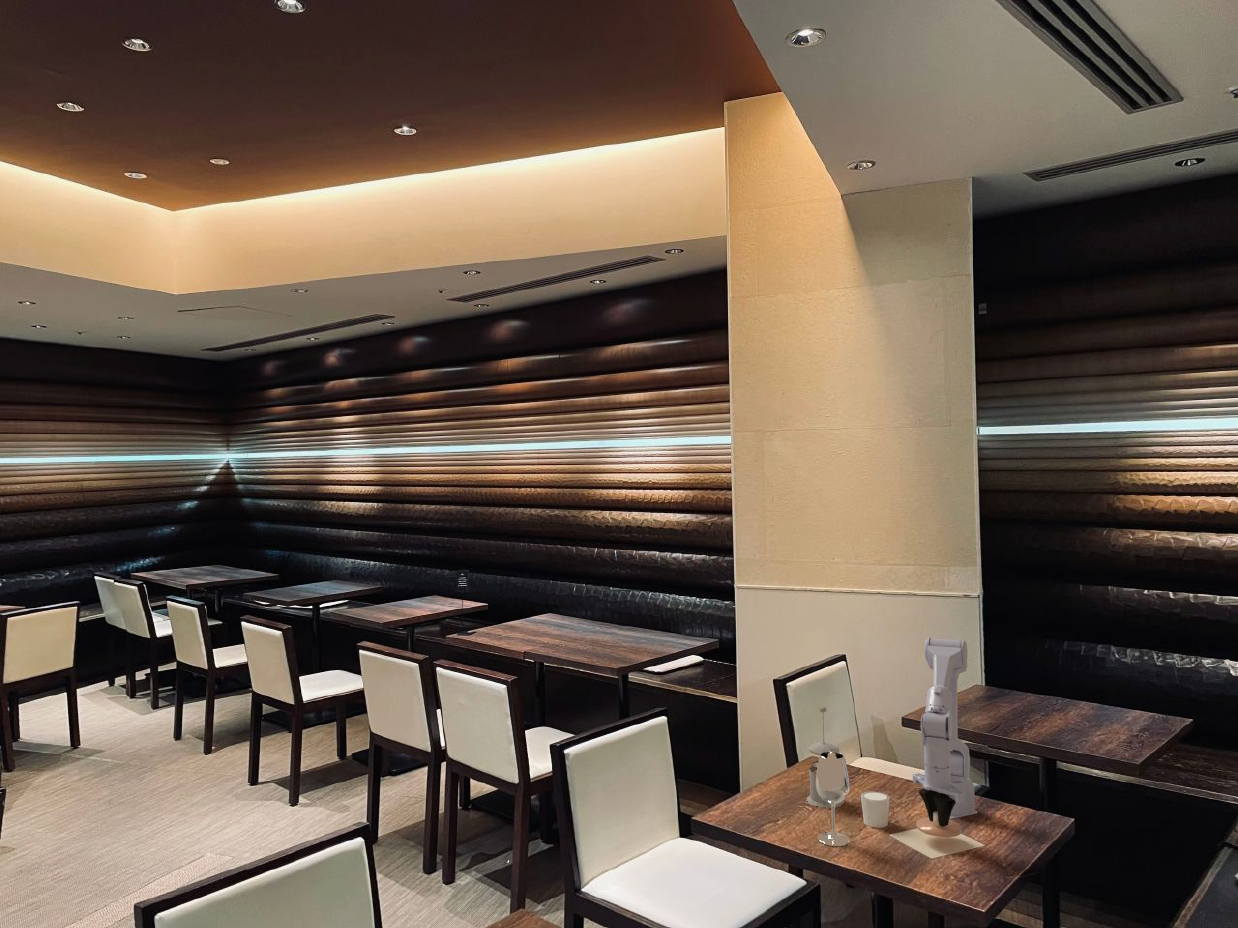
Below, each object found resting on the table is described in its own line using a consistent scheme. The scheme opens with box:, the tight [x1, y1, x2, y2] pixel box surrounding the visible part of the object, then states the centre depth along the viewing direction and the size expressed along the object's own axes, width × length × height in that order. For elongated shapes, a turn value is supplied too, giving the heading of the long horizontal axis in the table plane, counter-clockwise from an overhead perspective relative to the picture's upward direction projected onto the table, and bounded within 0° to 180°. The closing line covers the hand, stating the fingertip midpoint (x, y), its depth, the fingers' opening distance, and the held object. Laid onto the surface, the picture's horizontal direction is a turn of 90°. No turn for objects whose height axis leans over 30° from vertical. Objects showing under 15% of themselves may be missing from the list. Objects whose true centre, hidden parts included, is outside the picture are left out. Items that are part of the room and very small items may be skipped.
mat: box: [888, 827, 986, 860], centre depth 198 cm, size 16×14×1 cm
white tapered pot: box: [860, 791, 890, 828], centre depth 208 cm, size 7×7×7 cm
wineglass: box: [816, 752, 851, 847], centre depth 200 cm, size 8×8×20 cm
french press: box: [806, 706, 847, 809], centre depth 225 cm, size 10×12×25 cm
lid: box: [915, 811, 963, 837], centre depth 197 cm, size 10×10×4 cm
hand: (938, 822), depth 197 cm, fingers closed on lid, 2 cm apart
